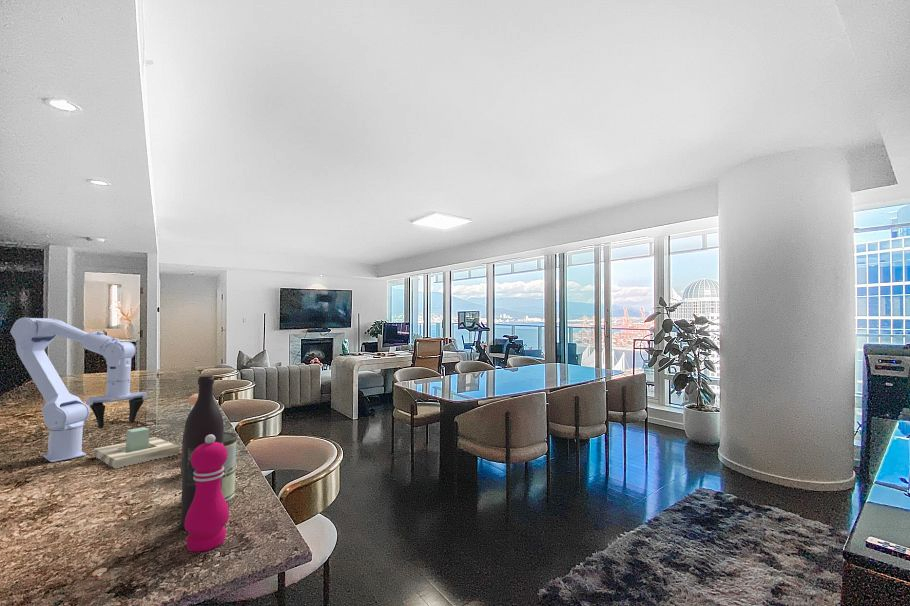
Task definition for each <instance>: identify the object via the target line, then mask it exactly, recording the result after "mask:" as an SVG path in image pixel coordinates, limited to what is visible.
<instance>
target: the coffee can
mask: <svg viewBox="0 0 910 606" xmlns="http://www.w3.org/2000/svg"><path fill="white" fill-rule="evenodd" d="M237 441H238V434H237V433H234V432H229V431H224V435H223V445H224V446H225V447H226V449H227V452H228V456H227V460H226V461H225V463H224V464H223V465H222V466H223V467H224V471H223V472H224V475H223V476H222V494H223V496H224V498H225V500H226V503H228V502H229V501H230V500H232V499H233V498H234V497H235V495H236V492H235V491H236V490H235V489H236V467H237Z"/></svg>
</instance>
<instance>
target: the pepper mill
mask: <svg viewBox="0 0 910 606" xmlns="http://www.w3.org/2000/svg"><path fill="white" fill-rule="evenodd" d="M215 439H216V438H215V436H214V435H212V434H210V435H207V436H206V438H205V442H206V443H204V444H202V445H200V446H198V447H197V448H196V449H195V450H194V451H193V453H192V456H191V465H192V466H193V467H194V468H195V469H196V470H195V471H194V473H193V474H194V477H193V479H194V480H195V481H196V491H195V496H194V499H193V501H192V504H191V506H190V508H189V510H188V512H187V514H186V517H185V523H184V527H185V530H184V531H186V532H187V533H188V535H187V537H186V549H187V550H188V551H190V552H198V553H199V552H206V551H209V550H212V549H215V548H217V547H219V546H220V545H222V544H223V543H224V542H225V540H226V536H227V535H226V534H227V532H226V531H227V529H226V528H225V525H226V524H227V522H229V521H228V520H229V519H230V509H229V505H228V502H226V500H225V498H224V496H223V494H222V490H221V477H222V476H223V475H224V472H223V471H224V467H223V466H222V465H223V464H224V463H225V461H226V460H227V456H228V452H227V449H226V447H225V446H224V445H223V444H221V443H218V442H215Z"/></svg>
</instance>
